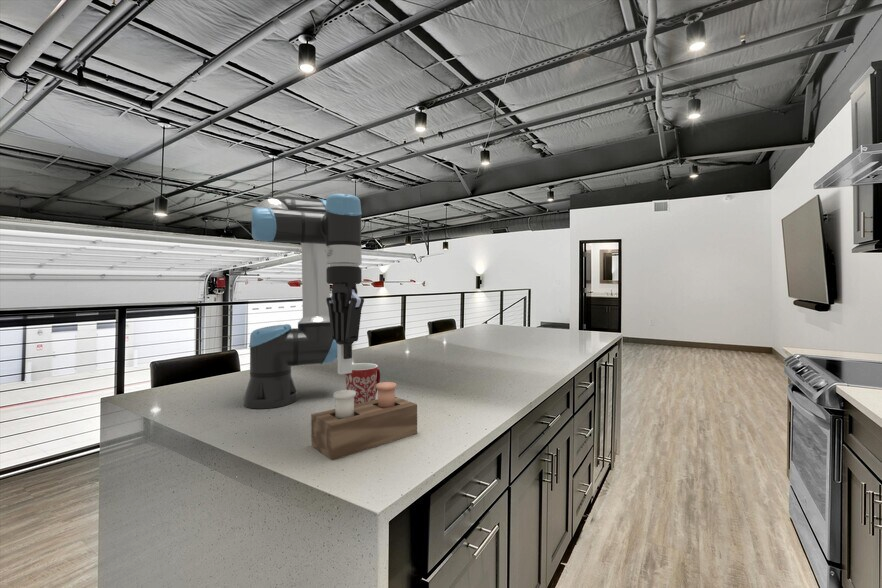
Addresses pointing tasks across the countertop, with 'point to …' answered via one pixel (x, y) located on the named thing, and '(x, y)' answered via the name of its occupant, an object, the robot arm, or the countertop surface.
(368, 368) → the mug
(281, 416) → the countertop surface
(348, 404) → the cream plug
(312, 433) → the walnut block
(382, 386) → the terracotta plug
